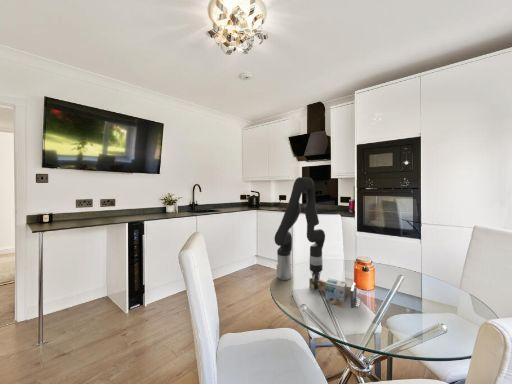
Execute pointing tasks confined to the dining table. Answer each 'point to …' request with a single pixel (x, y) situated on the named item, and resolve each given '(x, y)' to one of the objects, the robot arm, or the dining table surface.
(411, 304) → the dining table surface
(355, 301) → the bookend
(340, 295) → the light bulb box
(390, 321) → the dining table surface
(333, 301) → the shelf
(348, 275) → the dining table surface
